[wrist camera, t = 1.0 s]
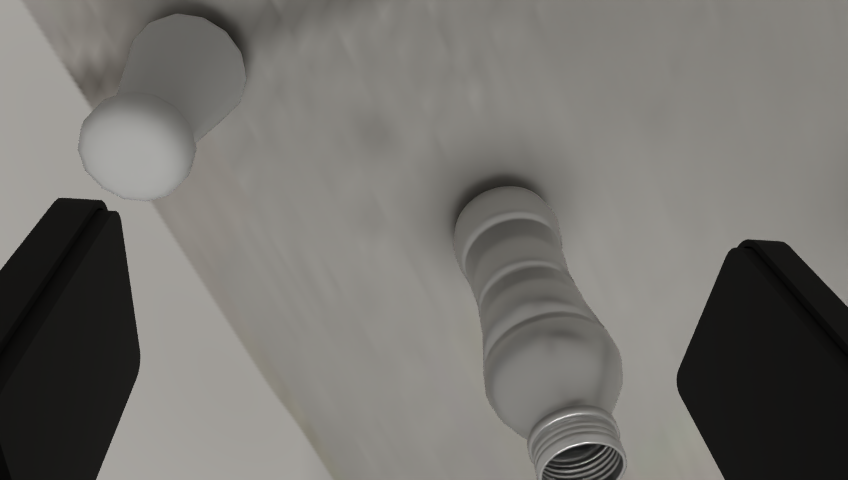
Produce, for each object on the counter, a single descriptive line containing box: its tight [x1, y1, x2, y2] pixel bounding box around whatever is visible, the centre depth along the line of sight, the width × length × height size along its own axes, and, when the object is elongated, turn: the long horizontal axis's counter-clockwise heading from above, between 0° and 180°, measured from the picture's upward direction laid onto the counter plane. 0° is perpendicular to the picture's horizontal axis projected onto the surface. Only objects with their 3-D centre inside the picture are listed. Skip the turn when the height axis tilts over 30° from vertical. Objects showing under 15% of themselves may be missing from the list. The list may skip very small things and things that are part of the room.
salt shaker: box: [78, 13, 246, 201], centre depth 32 cm, size 6×6×13 cm
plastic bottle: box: [454, 186, 627, 480], centre depth 36 cm, size 6×7×20 cm
